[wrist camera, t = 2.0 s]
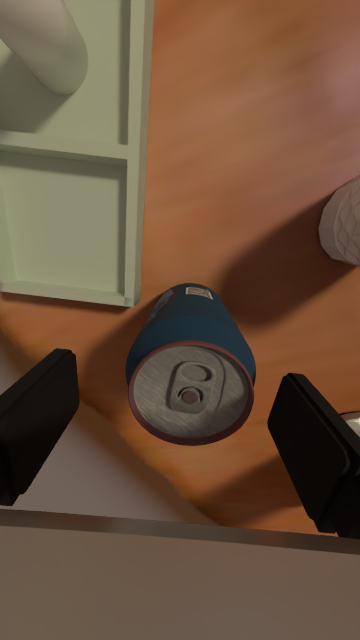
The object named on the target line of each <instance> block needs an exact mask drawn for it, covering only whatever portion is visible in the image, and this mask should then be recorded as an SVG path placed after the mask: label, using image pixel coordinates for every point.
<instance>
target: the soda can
mask: <svg viewBox="0 0 360 640" xmlns="http://www.w3.org/2000/svg"><path fill="white" fill-rule="evenodd" d="M255 378H256V366H255V360H254V357H253V354H252V352H251V349H250V348H249V346H248V344H247V342H246V341H245V339H244V337H243V336H242V334H241V332H240V331H239V329H238V327H237V325H236V324H235V322H234V320H233V319H232V317H231V315H230V314H229V312H228V310H227V309H226V307H225V305H224V303H223V302H222V300H221V299H220V297H219V296H218V295H217V294H216V293H215V292H214V291H212V290H211V289H209V288H207V287H205V286H203V285H199V284H194V283H185V284H180V285H177V286H174V287H172V288H170V289H168V290H167V291H166V292H165V293H163V294H162V295H161V297H160V298H159V299H158V301H157V302H156V304H155V306H154V308H153V310H152V311H151V313H150V315H149V317H148V319H147V320H146V322H145V324H144V326H143V328H142V330H141V331H140V333H139V335H138V337H137V339H136V340H135V342H134V344H133V346H132V348H131V350H130V352H129V355H128V358H127V362H126V379H127V384H128V400H129V404H130V408H131V410H132V413H133V415H134V416H135V418H136V419H137V421H138V422H139V423H140V424H141V426H142V427H143V428H145V429H146V430H147V431H148V432H149V433H151V434H152V435H154V436H156V437H158V438H160V439H162V440H164V441H167V442H170V443H173V444H178V445H185V446H199V445H206V444H210V443H214V442H217V441H220V440H222V439H224V438H226V437H228V436H230V435H231V434H233V433H234V432H236V431H237V430H238V429H239V428H240V427H241V426H242V425H243V424H244V423H245V421H246V420H247V418H248V416H249V414H250V412H251V409H252V406H253V401H254V389H253V387H254V383H255Z"/></svg>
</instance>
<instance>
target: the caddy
mask: <svg viewBox="0 0 360 640" xmlns="http://www.w3.org/2000/svg"><path fill="white" fill-rule="evenodd" d="M64 1H65V3H66V5H67V7H68V8H69V10H70V12H71V14H72V16H73V18H74V20H75V22H76V24H77V26H78V28H79V30H80V32H81V34H82V36H83V38H84V41H85V44H86V48H87V53H88V69H87V74H86V77H85V80H84V82H83V84H82V85H81V87H80V88H79V89H78V90H77V91H75V92H74V93H72V94H69V95H57V94H54V93H52V92H50V91H49V90H48V89H46V88H45V87H44V86H43V85H42V84H41V83H40V82H39V81H38V80H37V78H36V77H35V76H34V75H33V74H32V73H31V72H30V71H29V70H28V69H27V68H26V66H25V65H24V64H23V63H22V62H21V61H20V60H19V59H18V58H17V57H16V56H15V54H14V53H13V52H12V51H11V50H10V49H9V48H8V47H7V46H6V45H5V43H4V42H3V41H2V40H1V39H0V291H2V292H10V293H19V294H27V295H35V296H44V297H52V298H60V299H69V300H77V301H85V302H94V303H102V304H110V305H119V306H127V307H134V306H135V305H136V304H137V303H138V302H139V301H140V287H141V266H142V246H143V225H144V204H145V183H146V162H147V141H148V121H149V100H150V79H151V58H152V37H153V16H154V0H64Z"/></svg>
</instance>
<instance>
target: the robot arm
mask: <svg viewBox="0 0 360 640" xmlns="http://www.w3.org/2000/svg"><path fill="white" fill-rule="evenodd" d="M78 407H79V390H78V377H77V364H76V355H75V354H74V353H72V351H71V350H68V349H58V348H57V349H55V350H53V351H52V352H51V353H50V354H49V355H47V356H46V357H45V358H44V359H43V360H42V361H40V362H39V363H38V364H37V365H36V366H35V367H33V368H32V369H31V370H30V371H29V372H27V374H25V375H24V376H23V377H22V378H20V379H19V380H18V381H17V382H16V383H14V384H13V385H12V386H11V387H10V388H9V389H7V390H6V391H5V392H4V393H3V394H1V395H0V505H5V506H12V505H13V504H14V502H15V501H16V499H17V498H18V496H19V495H20V494H24V493H25V492H26V490H27V489H28V487H29V486H30V485H31V483H32V481H33V480H34V478H35V477H36V475H37V473H38V472H39V470H40V469H41V467H42V465H43V464H44V462H45V461H46V459H47V457H48V456H49V454H50V453H51V451H52V449H53V448H54V446H55V444H56V443H57V441H58V440H59V438H60V437H61V435H62V433H63V432H64V430H65V429H66V427H67V425H68V424H69V422H70V421H71V419H72V417H73V416H74V414H75V413H76V411H77V409H78ZM267 424H268V429H269V431H270V433H271V436H272V438H273V440H274V442H275V444H276V447H277V449H278V451H279V453H280V456H281V458H282V460H283V462H284V464H285V467H286V469H287V471H288V473H289V475H290V478H291V480H292V482H293V484H294V486H295V489H296V491H297V493H298V495H299V498H300V500H301V502H302V504H303V506H304V509H305V511H306V513H307V515H308V516H309V518H310V519H312V520H313V521H314V523H315V525H316V527H317V529H318V531H319V532H322V533H333V534H335V532H337V534H338V536H339V537H334V536H325V535H314V534H303V533H292V532H281V531H270V530H259V529H248V528H237V527H225V526H214V525H202V524H190V523H178V522H166V521H154V520H143V519H129V518H118V517H105V516H91V515H79V514H67V513H54V512H41V511H25V510H7V509H0V640H360V412H355V413H348V414H344V415H339V414H338V413H337V411H336V410H335V409H334V408H333V407H332V406H331V405H330V404H329V402H328V401H327V400H326V399H325V398H324V397H323V396H322V395H321V394H320V392H319V391H318V390H317V389H316V388H315V387H314V386H313V385H312V383H311V382H310V381H309V380H308V379H307V378H306V377H305V376H304V375H303V374H296V373H288V374H287V375H286V376H284V377H283V378H282V381H281V384H280V387H279V389H278V392H277V395H276V398H275V401H274V404H273V407H272V409H271V412H270V415H269V418H268V423H267Z"/></svg>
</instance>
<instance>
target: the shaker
mask: <svg viewBox="0 0 360 640" xmlns="http://www.w3.org/2000/svg"><path fill="white" fill-rule="evenodd" d="M0 39H1V40H2V41H3V42H4V43H5V45H6V46H7V47H8V48H9V49H10V50H11V51H12V52H13V53H14V54H15V56H16V57H17V58H18V59H19V60H20V61H21V62H22V63H23V64H24V65H25V66H26V68H27V69H28V70H29V71H30V72H31V73H32V74H33V75H34V76H35V77H36V78H37V80H38V81H39V82H40V83H41V84H42V85H43V86H44V87H45V88H46V89H48V90H49V91H50V92H52V93H54V94H57V95H69V94H72V93H74V92H75V91H77V90H78V89H79V88H80V87H81V85H82V84H83V82H84V80H85V77H86V74H87V69H88V53H87V48H86V44H85V41H84V38H83V36H82V34H81V32H80V30H79V28H78V26H77V24H76V22H75V20H74V18H73V16H72V14H71V12H70V10H69V8H68V7H67V5H66V3H65V1H64V0H0Z"/></svg>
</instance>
